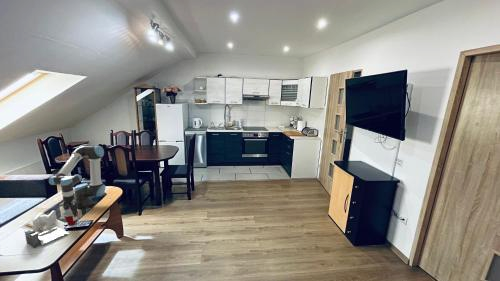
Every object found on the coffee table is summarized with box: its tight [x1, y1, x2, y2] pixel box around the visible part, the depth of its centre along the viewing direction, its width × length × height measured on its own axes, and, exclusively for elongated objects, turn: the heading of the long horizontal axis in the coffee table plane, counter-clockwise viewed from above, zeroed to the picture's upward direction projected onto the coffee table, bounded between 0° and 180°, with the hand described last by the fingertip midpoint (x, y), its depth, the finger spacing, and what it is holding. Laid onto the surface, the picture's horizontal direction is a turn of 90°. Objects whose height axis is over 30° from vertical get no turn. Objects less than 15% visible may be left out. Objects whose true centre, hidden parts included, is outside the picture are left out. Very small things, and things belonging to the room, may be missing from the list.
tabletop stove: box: [24, 226, 70, 249], centre depth 169 cm, size 22×17×12 cm
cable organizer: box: [31, 210, 57, 232], centre depth 184 cm, size 15×11×12 cm
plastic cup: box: [62, 208, 80, 227], centre depth 184 cm, size 11×11×12 cm
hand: (71, 218), depth 184 cm, fingers closed on plastic cup, 11 cm apart
